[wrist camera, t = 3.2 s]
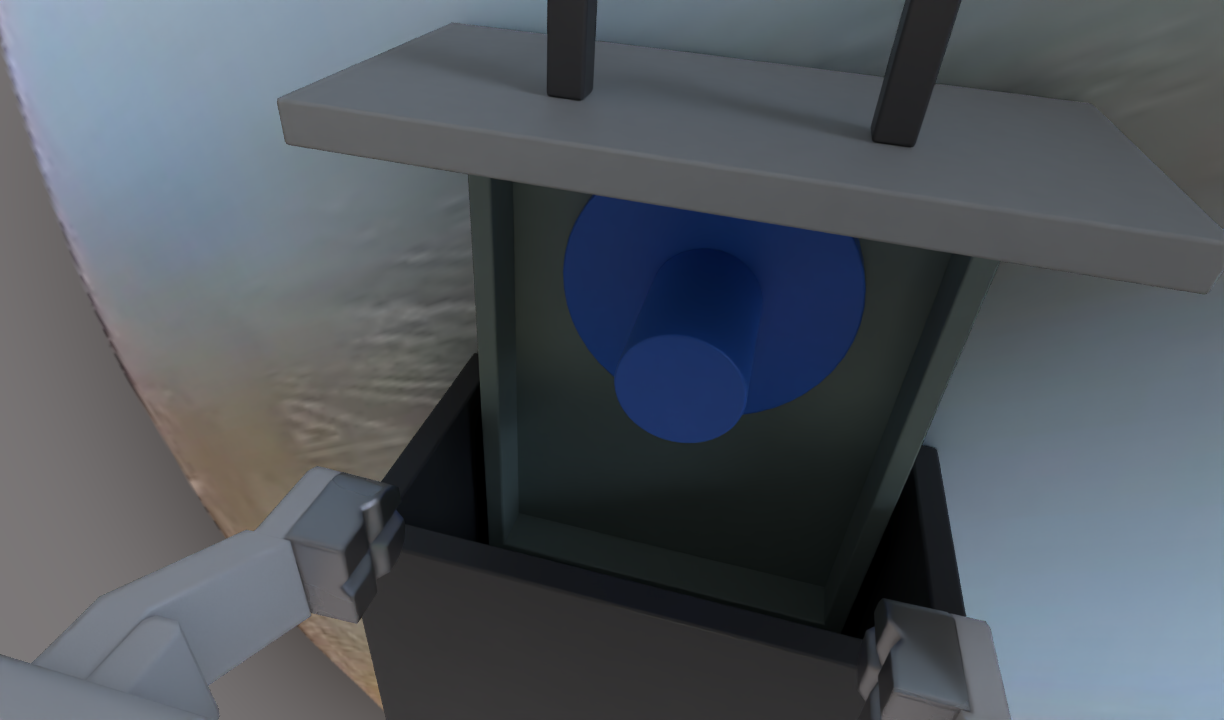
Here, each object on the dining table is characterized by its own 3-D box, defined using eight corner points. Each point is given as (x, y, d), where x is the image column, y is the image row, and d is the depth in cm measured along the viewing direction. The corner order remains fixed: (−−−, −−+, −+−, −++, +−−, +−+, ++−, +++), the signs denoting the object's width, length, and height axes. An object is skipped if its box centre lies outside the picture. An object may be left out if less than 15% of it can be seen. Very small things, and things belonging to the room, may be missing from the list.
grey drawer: (440, -184, 15) (210, -207, 9) (1193, -127, 13) (1472, -112, 7) (482, 501, 27) (392, 665, 21) (870, 595, 25) (881, 807, 19)
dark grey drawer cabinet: (474, 351, 24) (340, 534, 17) (938, 447, 21) (982, 701, 15) (491, 643, 33) (410, 828, 27) (810, 731, 31) (804, 958, 24)
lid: (575, 116, 17) (501, 190, 13) (905, 164, 16) (927, 261, 12) (567, 370, 22) (509, 481, 18) (823, 423, 20) (821, 555, 17)
